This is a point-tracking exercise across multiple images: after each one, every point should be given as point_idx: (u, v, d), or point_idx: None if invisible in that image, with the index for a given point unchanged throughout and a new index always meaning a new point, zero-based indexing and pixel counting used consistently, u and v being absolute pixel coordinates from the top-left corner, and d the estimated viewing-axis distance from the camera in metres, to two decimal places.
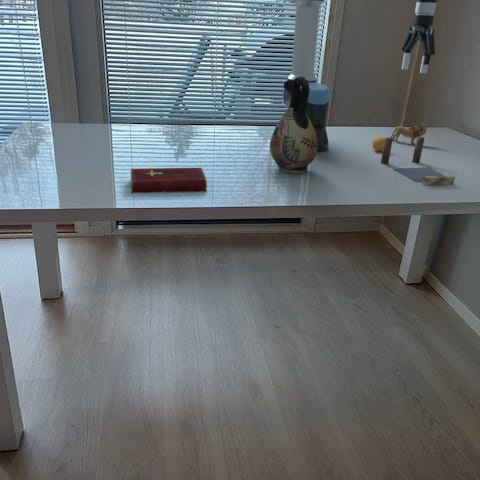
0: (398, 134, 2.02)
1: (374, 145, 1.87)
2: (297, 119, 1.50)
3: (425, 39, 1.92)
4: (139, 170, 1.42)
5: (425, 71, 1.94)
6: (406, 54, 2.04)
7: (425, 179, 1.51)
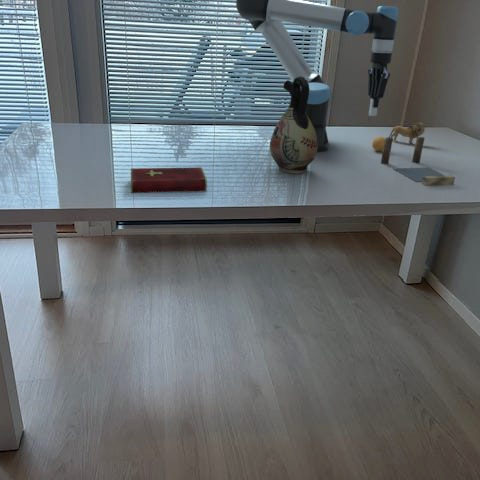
0: (396, 134, 2.02)
1: (374, 145, 1.87)
2: (297, 119, 1.50)
3: (380, 80, 1.85)
4: (139, 170, 1.43)
5: (374, 114, 1.91)
6: None
7: (425, 179, 1.51)
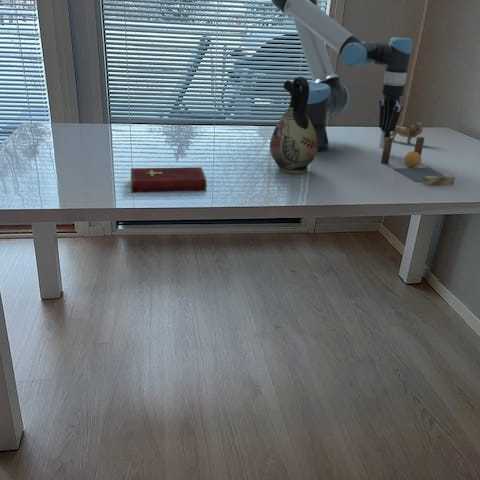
0: (394, 133, 2.02)
1: (405, 161, 1.69)
2: (297, 119, 1.50)
3: (391, 113, 1.78)
4: (139, 169, 1.43)
5: None
6: None
7: (425, 179, 1.51)
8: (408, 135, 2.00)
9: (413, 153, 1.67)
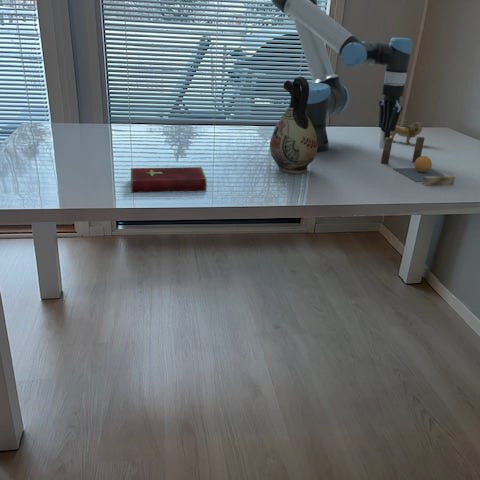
0: (394, 133, 2.02)
1: (415, 162, 1.64)
2: (297, 119, 1.50)
3: (391, 113, 1.78)
4: (139, 169, 1.43)
5: None
6: None
7: (425, 179, 1.51)
8: (407, 135, 2.00)
9: (422, 171, 1.64)
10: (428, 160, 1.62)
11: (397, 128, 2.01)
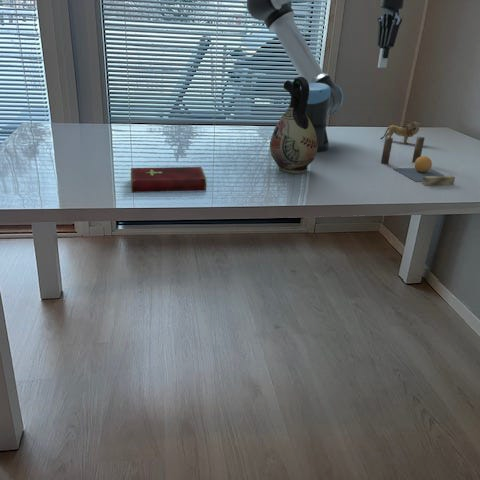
0: (391, 133, 2.03)
1: (415, 162, 1.64)
2: (297, 119, 1.50)
3: (390, 27, 1.72)
4: (139, 169, 1.43)
5: (384, 65, 1.78)
6: None
7: (425, 179, 1.51)
8: (405, 134, 2.00)
9: (422, 171, 1.64)
10: (428, 160, 1.62)
11: (395, 128, 2.02)
